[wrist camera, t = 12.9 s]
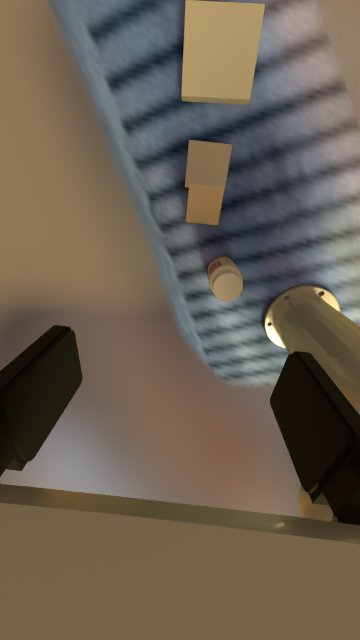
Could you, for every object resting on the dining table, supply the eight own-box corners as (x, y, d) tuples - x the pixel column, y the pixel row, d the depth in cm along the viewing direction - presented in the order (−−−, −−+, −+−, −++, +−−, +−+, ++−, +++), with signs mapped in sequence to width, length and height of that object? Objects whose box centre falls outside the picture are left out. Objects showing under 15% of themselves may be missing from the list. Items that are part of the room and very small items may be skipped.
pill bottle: (213, 252, 34) (218, 264, 27) (240, 261, 35) (252, 276, 27) (202, 279, 37) (205, 297, 29) (228, 287, 37) (237, 308, 30)
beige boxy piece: (218, 222, 32) (224, 226, 26) (182, 218, 32) (179, 221, 26) (231, 145, 28) (242, 128, 22) (189, 141, 28) (187, 122, 22)
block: (250, 99, 25) (265, 3, 21) (181, 95, 25) (185, 0, 21) (246, 105, 26) (260, 17, 23) (182, 102, 26) (186, 13, 23)
